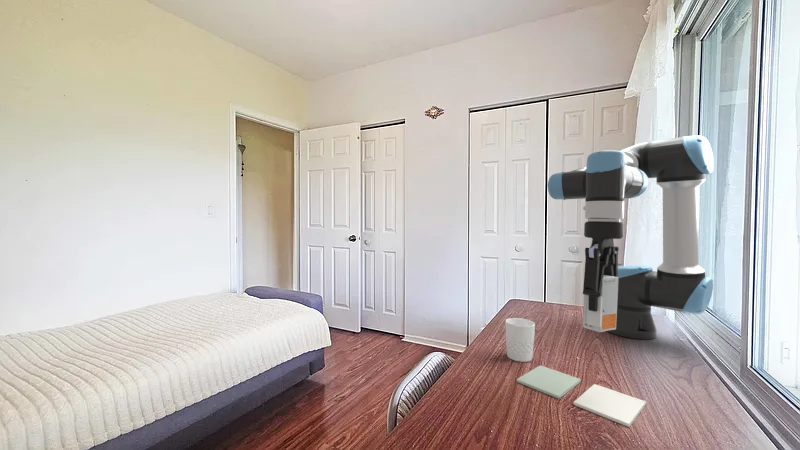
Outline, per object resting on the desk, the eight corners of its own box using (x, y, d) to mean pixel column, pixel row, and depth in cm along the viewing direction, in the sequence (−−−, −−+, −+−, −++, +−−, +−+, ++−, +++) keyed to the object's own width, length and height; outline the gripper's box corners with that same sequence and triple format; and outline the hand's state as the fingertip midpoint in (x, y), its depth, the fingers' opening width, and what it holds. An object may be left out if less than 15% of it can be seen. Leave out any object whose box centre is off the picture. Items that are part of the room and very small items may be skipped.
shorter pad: (540, 367, 89) (540, 365, 89) (580, 381, 81) (580, 379, 81) (516, 381, 81) (516, 379, 81) (559, 398, 73) (559, 396, 73)
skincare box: (600, 333, 73) (602, 278, 73) (582, 327, 77) (584, 275, 77) (617, 329, 76) (619, 276, 76) (599, 324, 80) (600, 273, 80)
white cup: (536, 364, 91) (537, 327, 90) (506, 361, 92) (507, 325, 92) (531, 353, 98) (532, 318, 98) (503, 350, 100) (504, 317, 100)
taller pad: (594, 386, 79) (594, 383, 79) (645, 404, 72) (645, 401, 72) (573, 404, 71) (573, 401, 71) (629, 427, 64) (629, 423, 64)
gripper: (601, 221, 85) (598, 311, 86) (567, 219, 73) (564, 326, 73) (636, 221, 80) (633, 318, 80) (606, 220, 67) (602, 335, 67)
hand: (600, 322), depth 76 cm, fingers closed on skincare box, 7 cm apart
